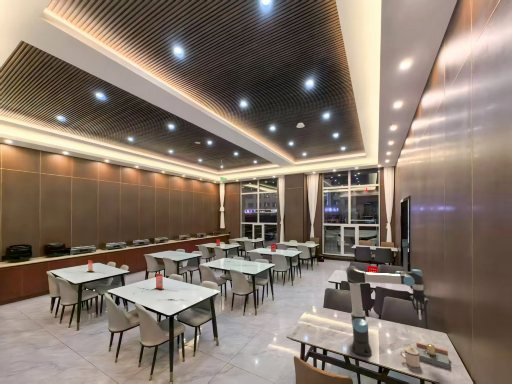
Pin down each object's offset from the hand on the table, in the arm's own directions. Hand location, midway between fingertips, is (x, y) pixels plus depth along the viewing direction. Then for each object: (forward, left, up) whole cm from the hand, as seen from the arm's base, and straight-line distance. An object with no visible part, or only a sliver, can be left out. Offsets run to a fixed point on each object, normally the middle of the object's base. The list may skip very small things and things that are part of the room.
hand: (420, 319), depth 189 cm
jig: (+6, -5, -26) cm, 28 cm away
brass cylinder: (+6, -5, -26) cm, 28 cm away
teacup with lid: (-7, -21, -27) cm, 35 cm away
